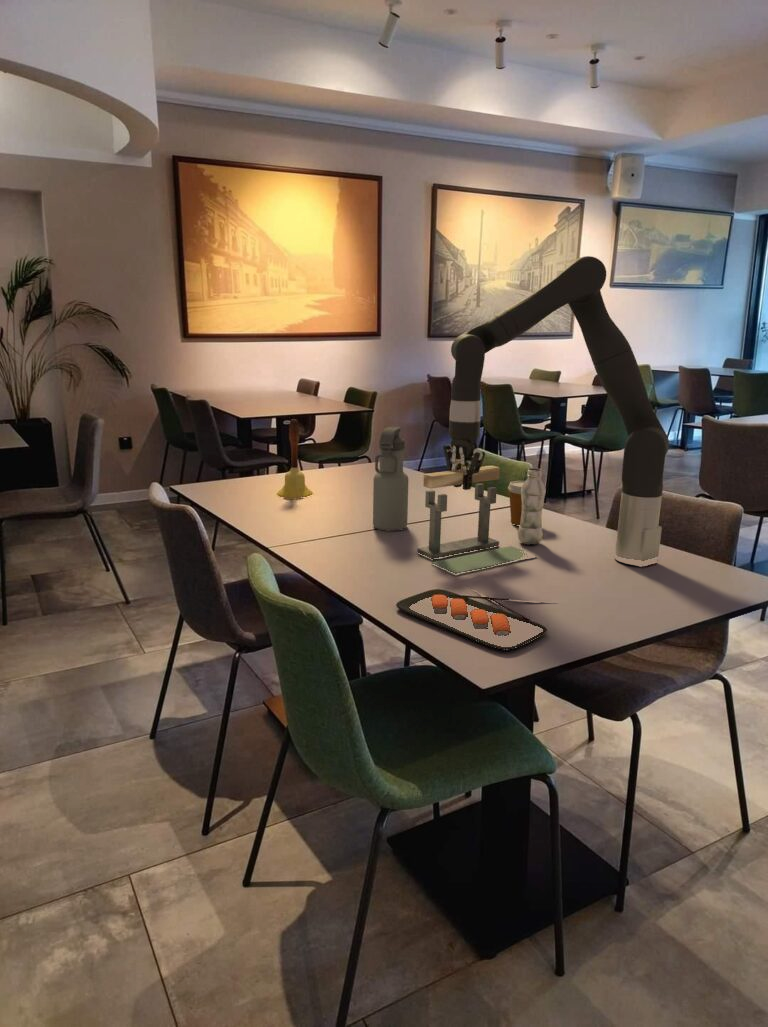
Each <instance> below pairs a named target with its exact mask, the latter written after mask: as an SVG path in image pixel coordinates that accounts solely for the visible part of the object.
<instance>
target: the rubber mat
mask: <svg viewBox="0 0 768 1027" xmlns="http://www.w3.org/2000/svg"><path fill="white" fill-rule="evenodd" d="M520 551H521V552H520ZM522 551H523V553H522ZM524 551H525V550H524V549H521V548H517V547H515V546H512V545H510V546H509V545H508V546H505V547H500V548H499V547H498V548H494V549H489V550H484V551H482V552H481V551H479V552H474V553H470V554H465V555H460V556H457V557H456V556H455V557H452V558H451V557H450V558H448V559H447V558H445V559H443V560H442V559H441V560H438V561H437V560H436V561H431V565H432V564H435V565H437V566H439V567H441V568H444V569H446V570H448V571H450V572H453V573H455V574H457V573H461V572H467V571H472V570H477V569H482V568H487V567H491V566H494V565H498V564H502V563H506V562H510V561H514V560H517V559H520V558H521V557H523V554H524V556H525V553H524ZM526 555H527V553H526ZM527 557H528V556H527Z"/></svg>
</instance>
